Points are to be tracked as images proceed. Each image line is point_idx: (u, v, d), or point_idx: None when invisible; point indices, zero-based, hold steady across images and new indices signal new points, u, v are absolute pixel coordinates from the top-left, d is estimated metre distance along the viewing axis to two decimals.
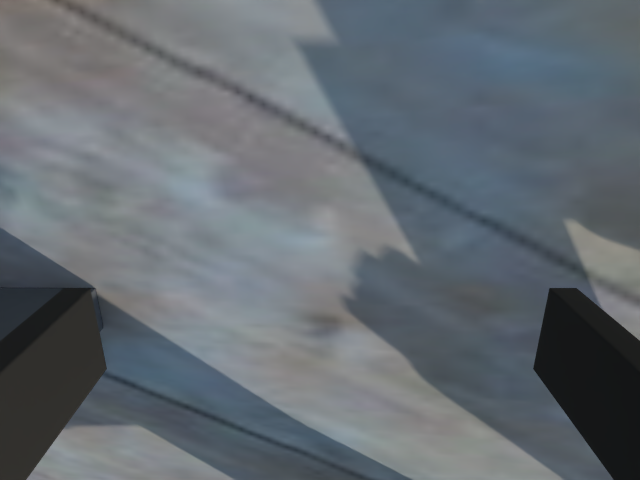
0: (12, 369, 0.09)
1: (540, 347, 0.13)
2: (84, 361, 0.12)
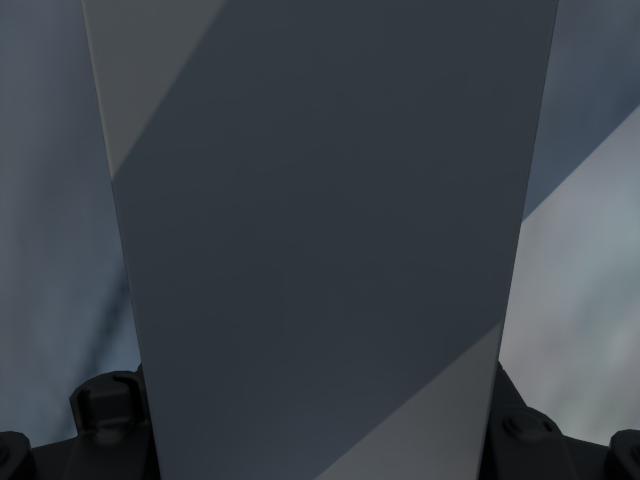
0: None
1: None
2: None
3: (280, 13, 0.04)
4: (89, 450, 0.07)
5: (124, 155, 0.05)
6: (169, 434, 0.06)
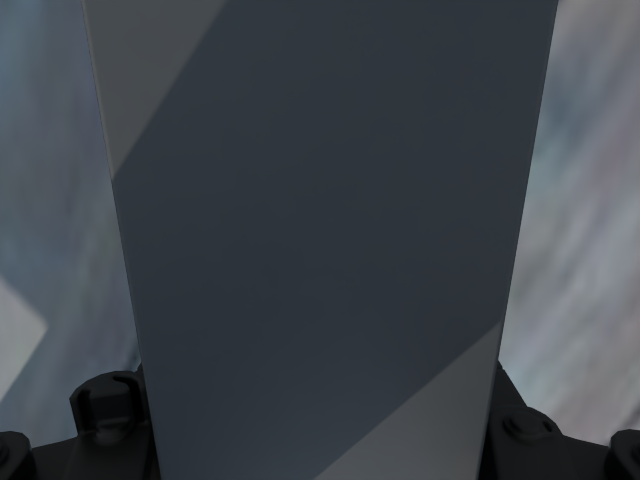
0: None
1: None
2: None
3: (280, 10, 0.04)
4: (89, 450, 0.07)
5: (124, 154, 0.05)
6: (169, 433, 0.06)
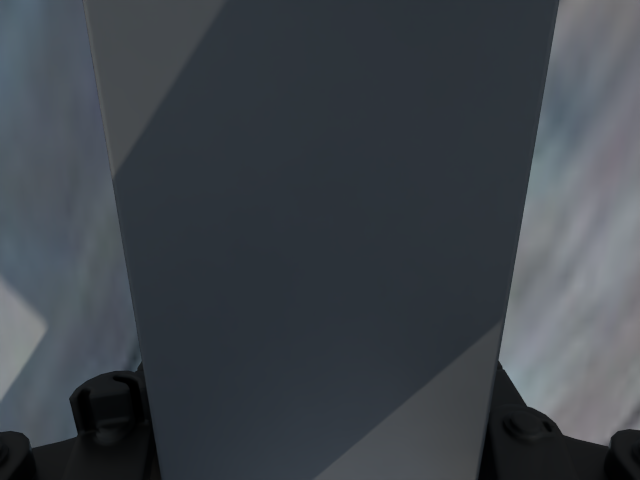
0: None
1: None
2: None
3: (281, 11, 0.04)
4: (89, 450, 0.07)
5: (125, 153, 0.05)
6: (169, 433, 0.06)
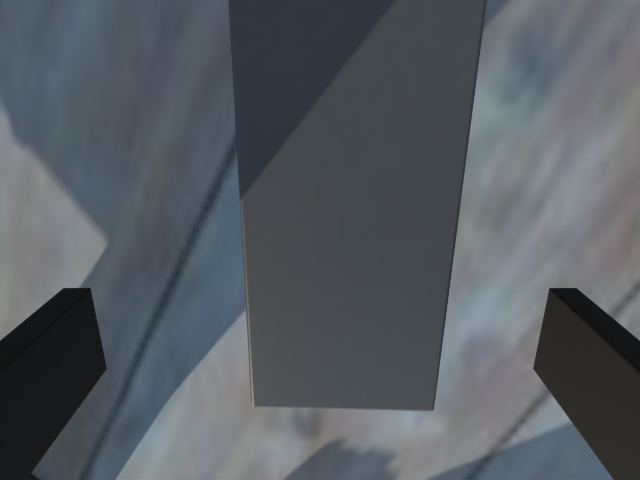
0: (12, 369, 0.09)
1: (540, 347, 0.13)
2: (84, 361, 0.12)
3: None
4: None
5: None
6: (250, 187, 0.09)
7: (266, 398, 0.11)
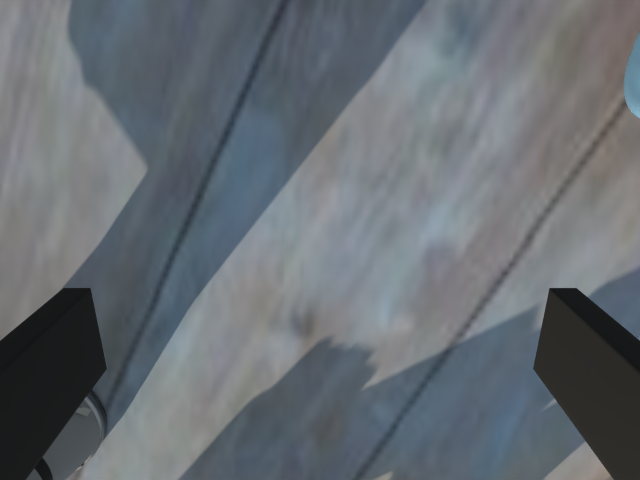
0: (12, 369, 0.09)
1: (540, 347, 0.13)
2: (84, 361, 0.12)
3: None
4: None
5: None
6: None
7: None
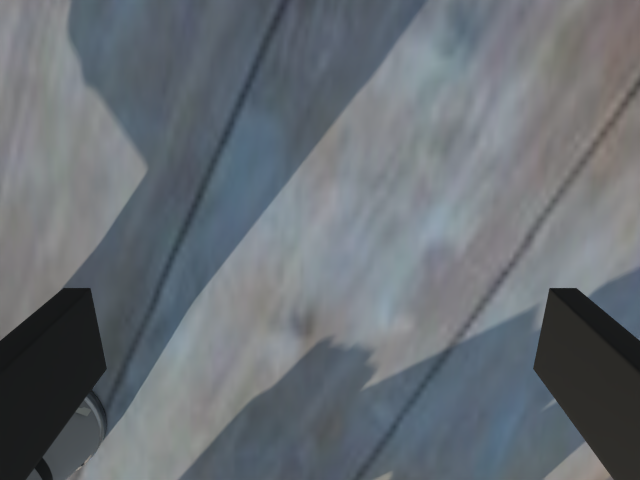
0: (12, 369, 0.09)
1: (540, 347, 0.13)
2: (84, 361, 0.12)
3: None
4: None
5: None
6: None
7: None
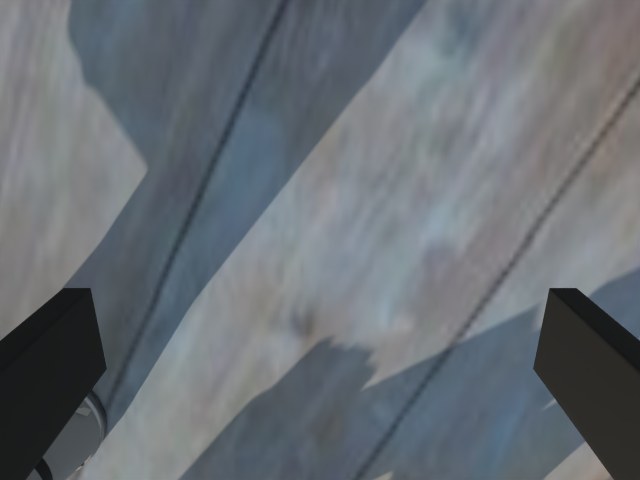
0: (12, 369, 0.09)
1: (540, 347, 0.13)
2: (84, 361, 0.12)
3: None
4: None
5: None
6: None
7: None
